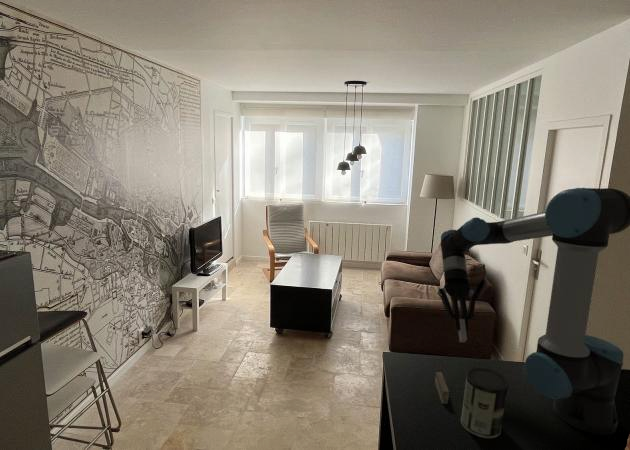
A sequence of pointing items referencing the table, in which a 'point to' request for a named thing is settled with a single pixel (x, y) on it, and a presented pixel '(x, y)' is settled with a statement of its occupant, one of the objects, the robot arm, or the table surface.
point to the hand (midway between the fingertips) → (463, 340)
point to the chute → (442, 388)
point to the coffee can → (484, 402)
